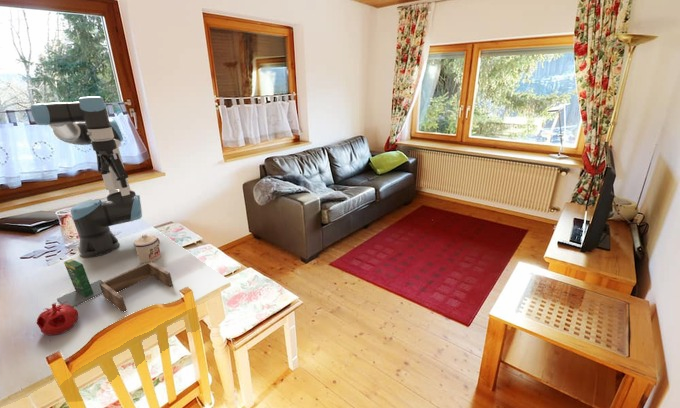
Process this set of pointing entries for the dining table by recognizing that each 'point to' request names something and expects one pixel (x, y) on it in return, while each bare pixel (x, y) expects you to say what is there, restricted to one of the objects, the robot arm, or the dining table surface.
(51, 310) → the red carved pumpkin
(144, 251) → the teacup with lid
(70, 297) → the slate mat
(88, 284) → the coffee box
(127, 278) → the wooden u-shaped frame
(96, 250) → the robot arm
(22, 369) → the dining table surface
